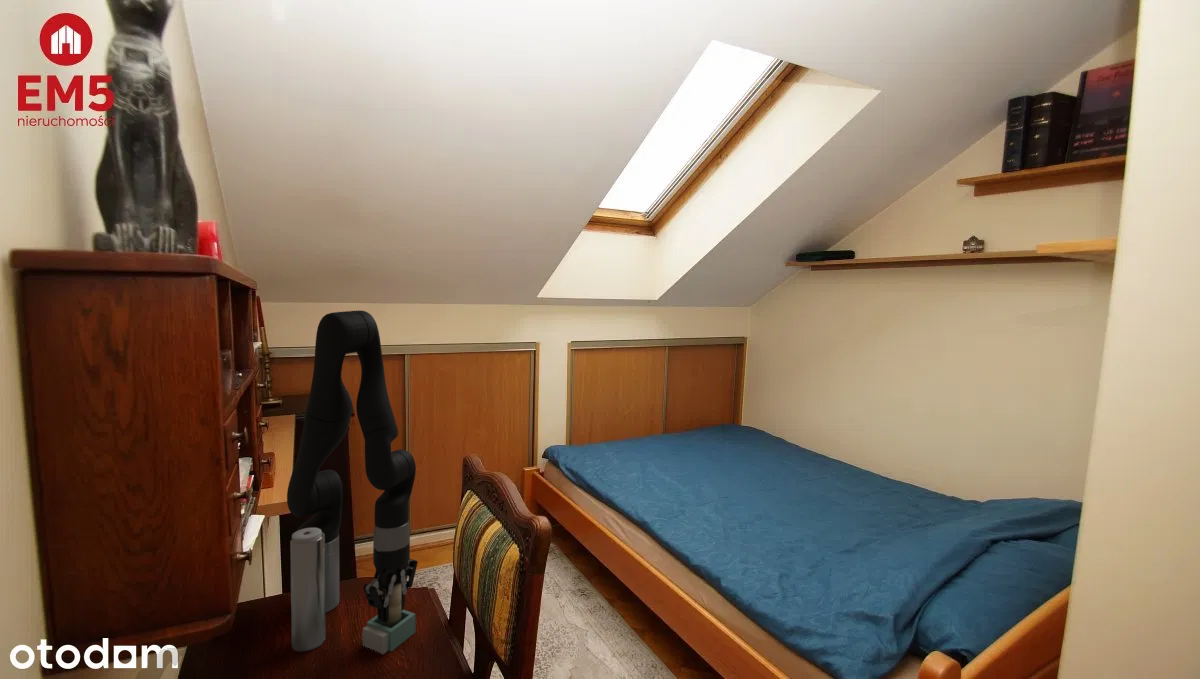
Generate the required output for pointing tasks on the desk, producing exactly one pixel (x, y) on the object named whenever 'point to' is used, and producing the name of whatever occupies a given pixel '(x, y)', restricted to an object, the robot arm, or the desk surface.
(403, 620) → the grey-green open box
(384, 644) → the grey flat slab
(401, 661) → the desk surface
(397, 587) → the dowel
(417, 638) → the desk surface
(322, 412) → the robot arm
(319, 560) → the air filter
